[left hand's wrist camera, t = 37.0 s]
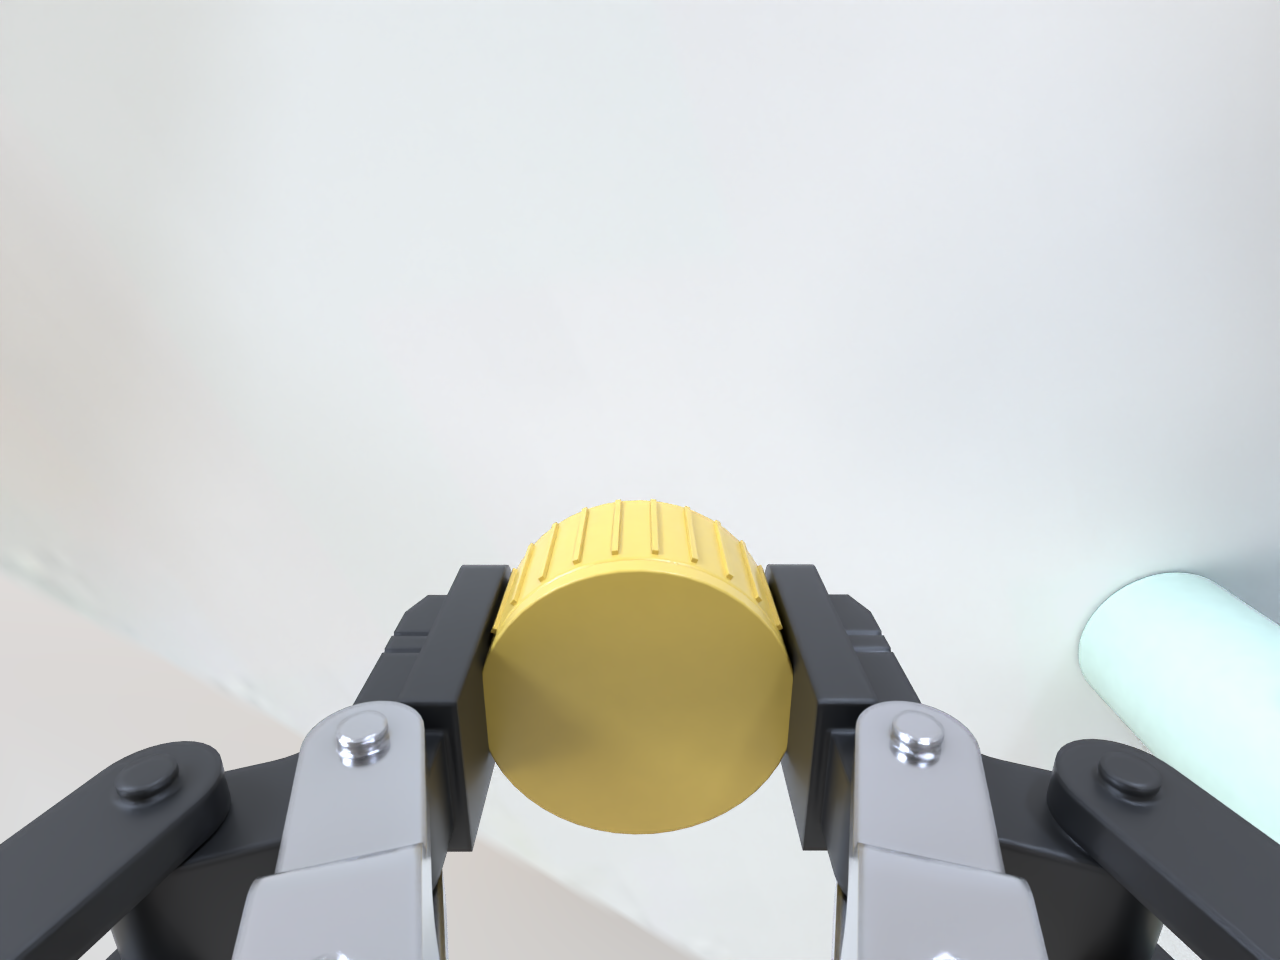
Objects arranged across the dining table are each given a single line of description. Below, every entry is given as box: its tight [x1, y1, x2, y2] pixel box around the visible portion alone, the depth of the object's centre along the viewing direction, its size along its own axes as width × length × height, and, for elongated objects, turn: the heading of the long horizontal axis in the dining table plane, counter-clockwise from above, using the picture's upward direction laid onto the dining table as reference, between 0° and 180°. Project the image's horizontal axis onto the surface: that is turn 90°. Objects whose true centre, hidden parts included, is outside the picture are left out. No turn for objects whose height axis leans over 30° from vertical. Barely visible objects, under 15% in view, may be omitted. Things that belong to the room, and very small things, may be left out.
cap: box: [482, 499, 793, 834], centre depth 11 cm, size 4×4×2 cm
